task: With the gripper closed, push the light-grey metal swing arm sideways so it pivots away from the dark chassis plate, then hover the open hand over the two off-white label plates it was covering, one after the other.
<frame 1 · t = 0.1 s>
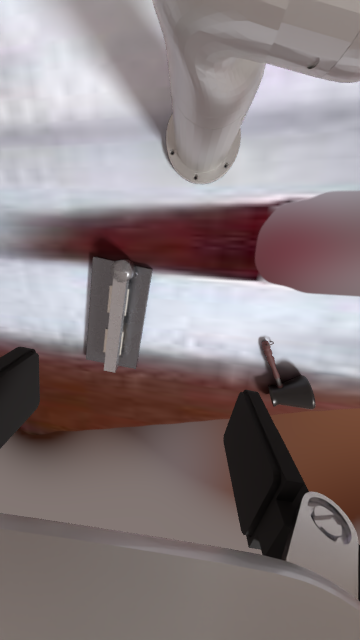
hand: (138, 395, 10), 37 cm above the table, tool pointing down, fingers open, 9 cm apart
chassis: (117, 316, 47), on the table
swing arm: (118, 318, 44), point 3 cm above the table, hinge at 0.0°
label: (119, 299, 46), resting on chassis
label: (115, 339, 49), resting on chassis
black dustpan: (280, 367, 51), on the table
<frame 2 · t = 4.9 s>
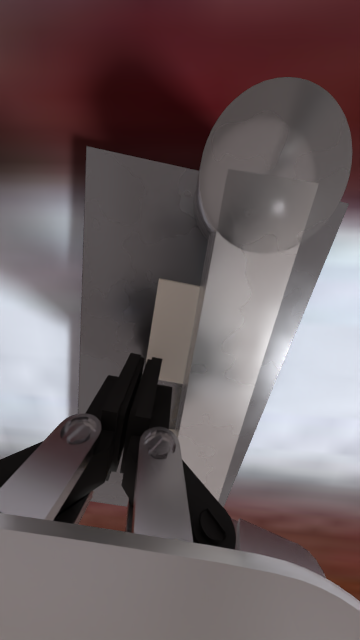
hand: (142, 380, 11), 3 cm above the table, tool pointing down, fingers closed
chassis: (174, 381, 14), on the table
swing arm: (202, 411, 11), point 3 cm above the table, hinge at 2.8°, touching gripper
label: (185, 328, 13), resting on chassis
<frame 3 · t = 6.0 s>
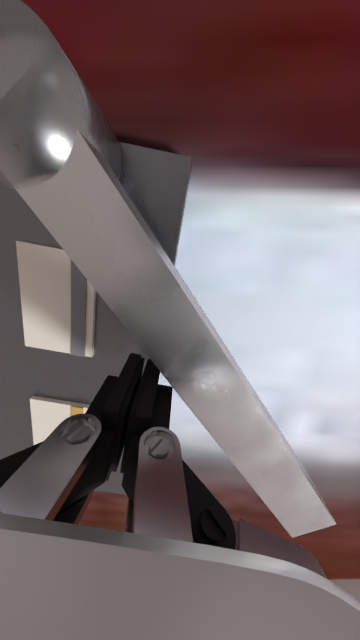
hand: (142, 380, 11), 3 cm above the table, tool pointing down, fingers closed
chassis: (71, 353, 14), on the table
swing arm: (197, 350, 10), point 4 cm above the table, hinge at 43.6°, touching gripper
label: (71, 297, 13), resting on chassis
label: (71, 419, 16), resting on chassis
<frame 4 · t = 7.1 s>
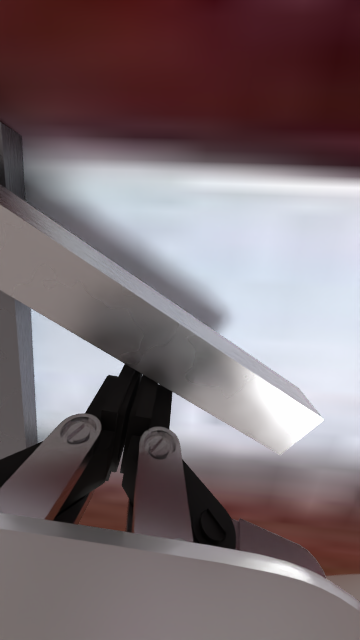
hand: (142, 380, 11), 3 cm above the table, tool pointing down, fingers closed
swing arm: (68, 266, 9), point 3 cm above the table, hinge at 66.0°
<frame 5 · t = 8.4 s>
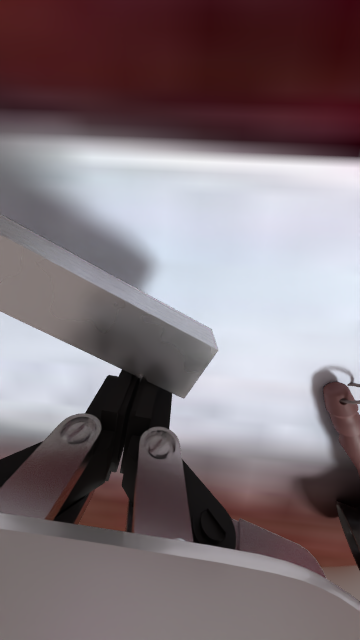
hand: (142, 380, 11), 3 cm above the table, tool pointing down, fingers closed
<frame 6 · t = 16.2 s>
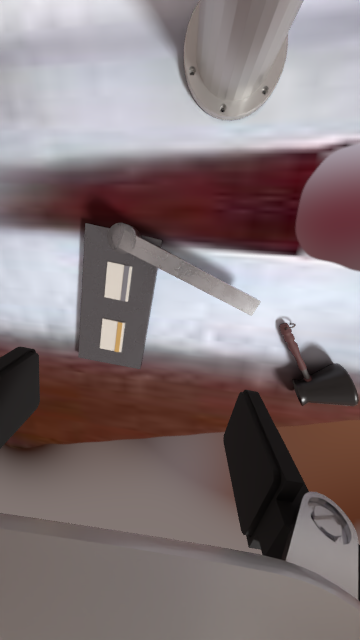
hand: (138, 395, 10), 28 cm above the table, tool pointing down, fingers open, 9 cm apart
chassis: (117, 302, 38), on the table
swing arm: (185, 270, 32), point 4 cm above the table, hinge at 75.0°
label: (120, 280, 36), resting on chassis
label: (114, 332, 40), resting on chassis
black dustpan: (306, 356, 41), on the table
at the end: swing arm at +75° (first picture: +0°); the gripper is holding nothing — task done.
